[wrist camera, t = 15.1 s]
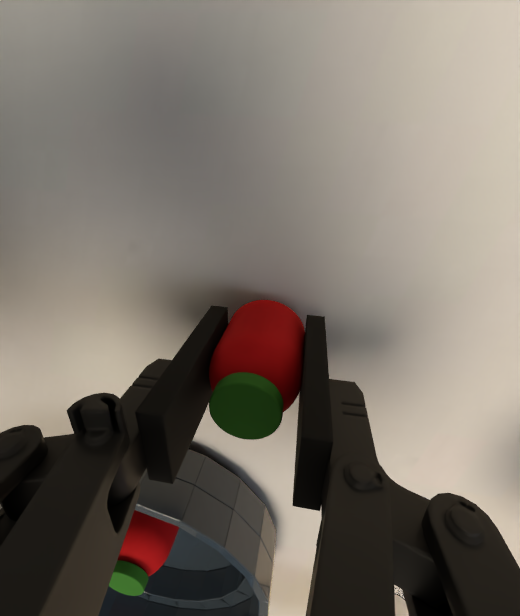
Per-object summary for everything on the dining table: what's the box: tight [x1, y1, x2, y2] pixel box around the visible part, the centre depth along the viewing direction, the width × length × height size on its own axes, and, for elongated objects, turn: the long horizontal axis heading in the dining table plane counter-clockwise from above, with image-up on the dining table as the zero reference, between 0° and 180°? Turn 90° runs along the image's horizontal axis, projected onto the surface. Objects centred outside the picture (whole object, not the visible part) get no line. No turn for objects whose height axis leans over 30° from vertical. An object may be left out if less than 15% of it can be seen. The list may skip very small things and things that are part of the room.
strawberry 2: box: [209, 300, 305, 439], centre depth 12 cm, size 4×4×5 cm
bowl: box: [98, 449, 276, 616], centre depth 21 cm, size 17×17×4 cm
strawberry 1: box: [109, 510, 179, 596], centre depth 19 cm, size 4×4×5 cm
